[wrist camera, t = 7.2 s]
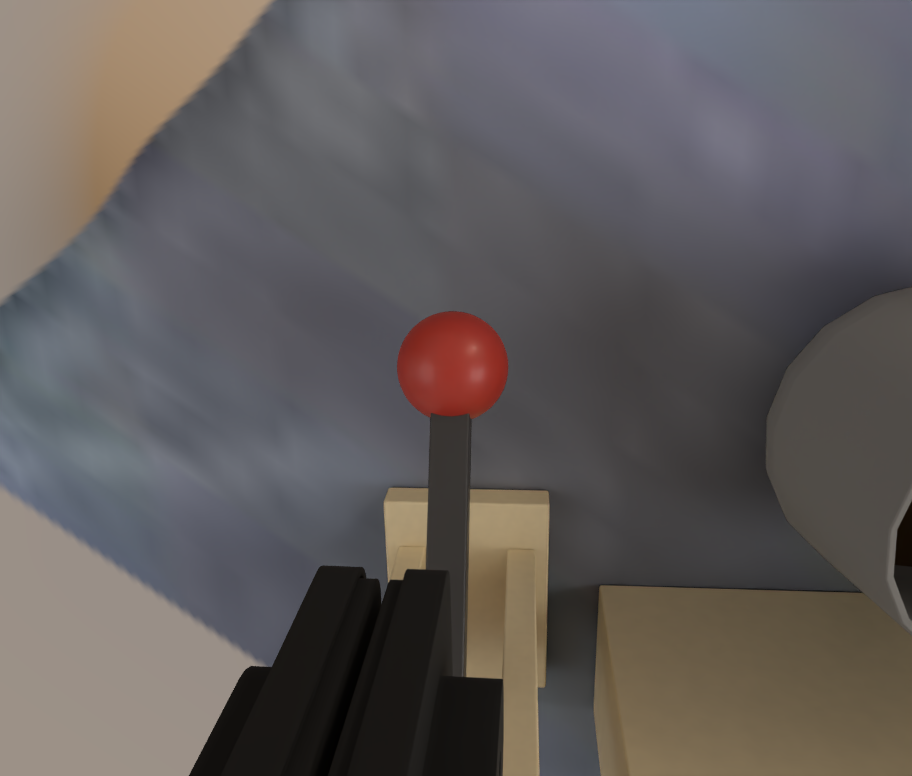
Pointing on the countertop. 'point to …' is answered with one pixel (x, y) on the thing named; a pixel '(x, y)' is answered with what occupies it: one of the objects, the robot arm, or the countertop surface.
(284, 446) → the countertop surface
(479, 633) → the lever bracket
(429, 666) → the robot arm
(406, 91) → the countertop surface
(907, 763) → the toaster
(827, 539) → the cup
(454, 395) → the red knob lever
